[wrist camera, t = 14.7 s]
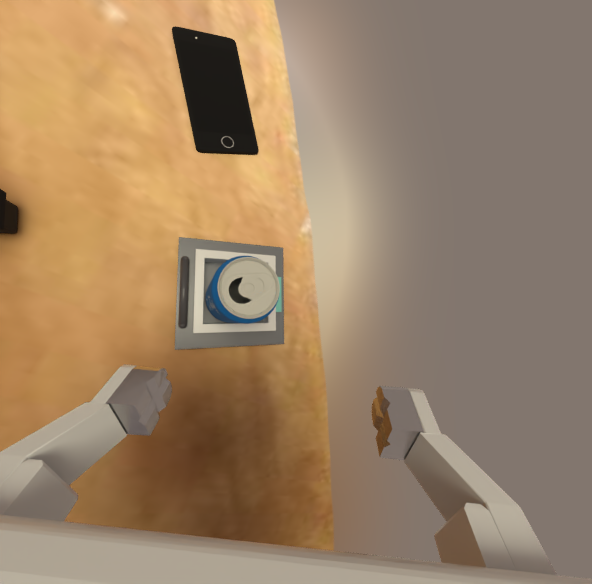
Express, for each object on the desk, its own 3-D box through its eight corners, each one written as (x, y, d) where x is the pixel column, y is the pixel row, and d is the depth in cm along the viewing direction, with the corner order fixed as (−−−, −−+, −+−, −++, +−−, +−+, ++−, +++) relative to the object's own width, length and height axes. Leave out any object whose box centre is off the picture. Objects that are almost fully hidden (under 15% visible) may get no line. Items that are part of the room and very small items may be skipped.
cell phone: (196, 154, 35) (196, 150, 34) (171, 31, 36) (171, 24, 35) (257, 156, 39) (259, 152, 38) (234, 44, 39) (235, 38, 38)
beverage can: (197, 284, 32) (200, 265, 21) (244, 268, 35) (268, 243, 24) (216, 330, 32) (229, 335, 21) (261, 311, 35) (294, 307, 24)
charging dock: (282, 343, 36) (290, 345, 33) (175, 348, 31) (173, 352, 28) (281, 249, 38) (289, 242, 35) (179, 239, 33) (178, 230, 30)
